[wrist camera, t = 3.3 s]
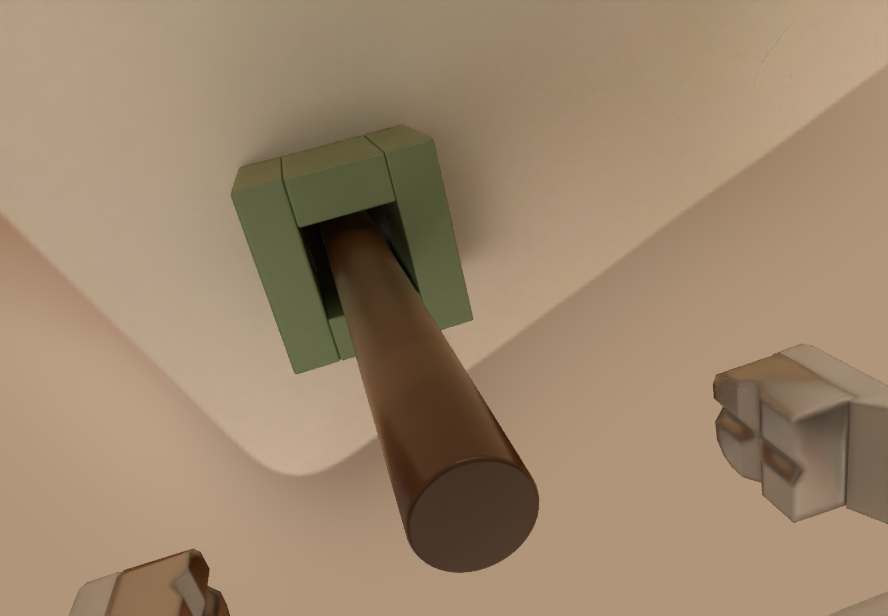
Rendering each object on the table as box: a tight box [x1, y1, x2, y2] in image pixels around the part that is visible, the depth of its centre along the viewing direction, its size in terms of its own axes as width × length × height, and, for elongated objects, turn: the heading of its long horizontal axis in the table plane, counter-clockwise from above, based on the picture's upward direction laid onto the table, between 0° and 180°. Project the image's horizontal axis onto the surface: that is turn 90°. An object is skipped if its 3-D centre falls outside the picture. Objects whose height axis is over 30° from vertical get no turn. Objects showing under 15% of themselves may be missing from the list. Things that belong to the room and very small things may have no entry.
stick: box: [320, 210, 539, 573], centre depth 17 cm, size 2×2×18 cm
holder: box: [231, 125, 473, 374], centre depth 23 cm, size 6×6×5 cm
